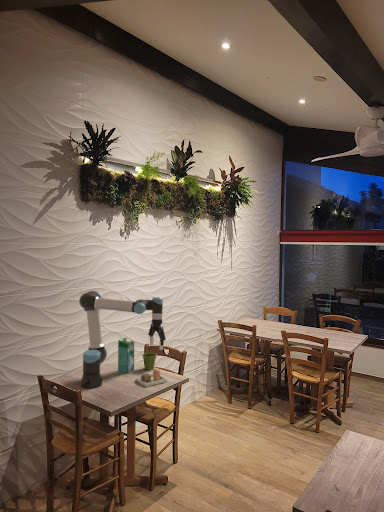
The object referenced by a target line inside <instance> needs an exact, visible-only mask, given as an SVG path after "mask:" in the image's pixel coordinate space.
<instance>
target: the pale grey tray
mask: <svg viewBox="0 0 384 512" xmlns="http://www.w3.org/2000/svg"><path fill="white" fill-rule="evenodd" d="M149 375H151V382H149V383H145V382H144V381H142V380H141V375H140V376H136V377H135V382H137V383H138V384H140V385H142V386H144V387H145V388H149V387H152V386H156V385H161V384H160V383H162V384H165V382H166V383H167V382H168V379H167V378H166V377H164V376H162V375H161V374H160V380H158V381H154V380H153V373H150V374H149Z"/></svg>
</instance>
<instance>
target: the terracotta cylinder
mask: <svg viewBox="0 0 384 512" xmlns="http://www.w3.org/2000/svg"><path fill="white" fill-rule="evenodd" d="M152 374H153V380H154V381H158V380H160V375H161V369H158V368H154V369H152Z"/></svg>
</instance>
